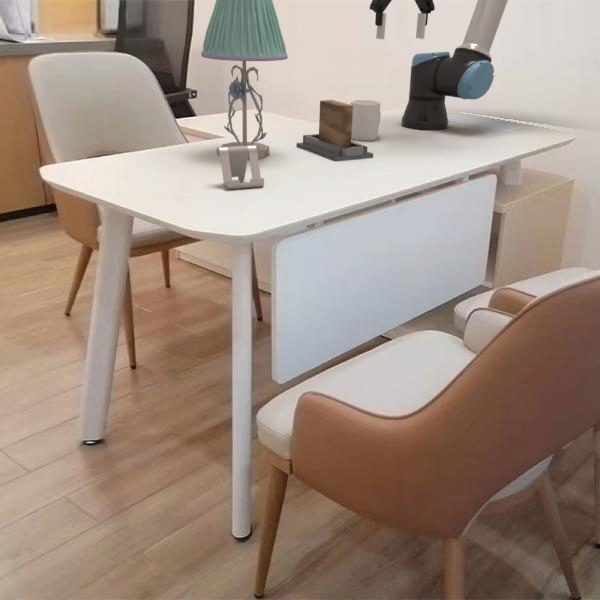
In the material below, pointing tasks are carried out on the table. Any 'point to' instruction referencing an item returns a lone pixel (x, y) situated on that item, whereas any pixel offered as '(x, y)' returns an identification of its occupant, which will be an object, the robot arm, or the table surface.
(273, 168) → the table surface
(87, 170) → the table surface
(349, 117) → the brown wooden block
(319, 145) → the base
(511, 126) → the table surface
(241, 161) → the portable electronic device stand
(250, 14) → the table lamp
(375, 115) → the mug
